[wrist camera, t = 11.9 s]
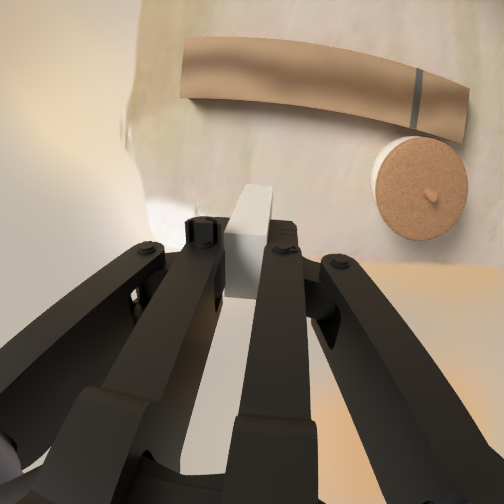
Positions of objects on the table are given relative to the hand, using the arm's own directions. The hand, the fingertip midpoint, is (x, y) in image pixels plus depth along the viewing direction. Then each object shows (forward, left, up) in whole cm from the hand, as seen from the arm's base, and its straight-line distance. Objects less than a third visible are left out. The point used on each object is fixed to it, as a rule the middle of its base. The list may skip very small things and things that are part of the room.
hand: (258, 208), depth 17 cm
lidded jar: (0, +16, -19) cm, 25 cm away
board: (-10, +6, -19) cm, 22 cm away
